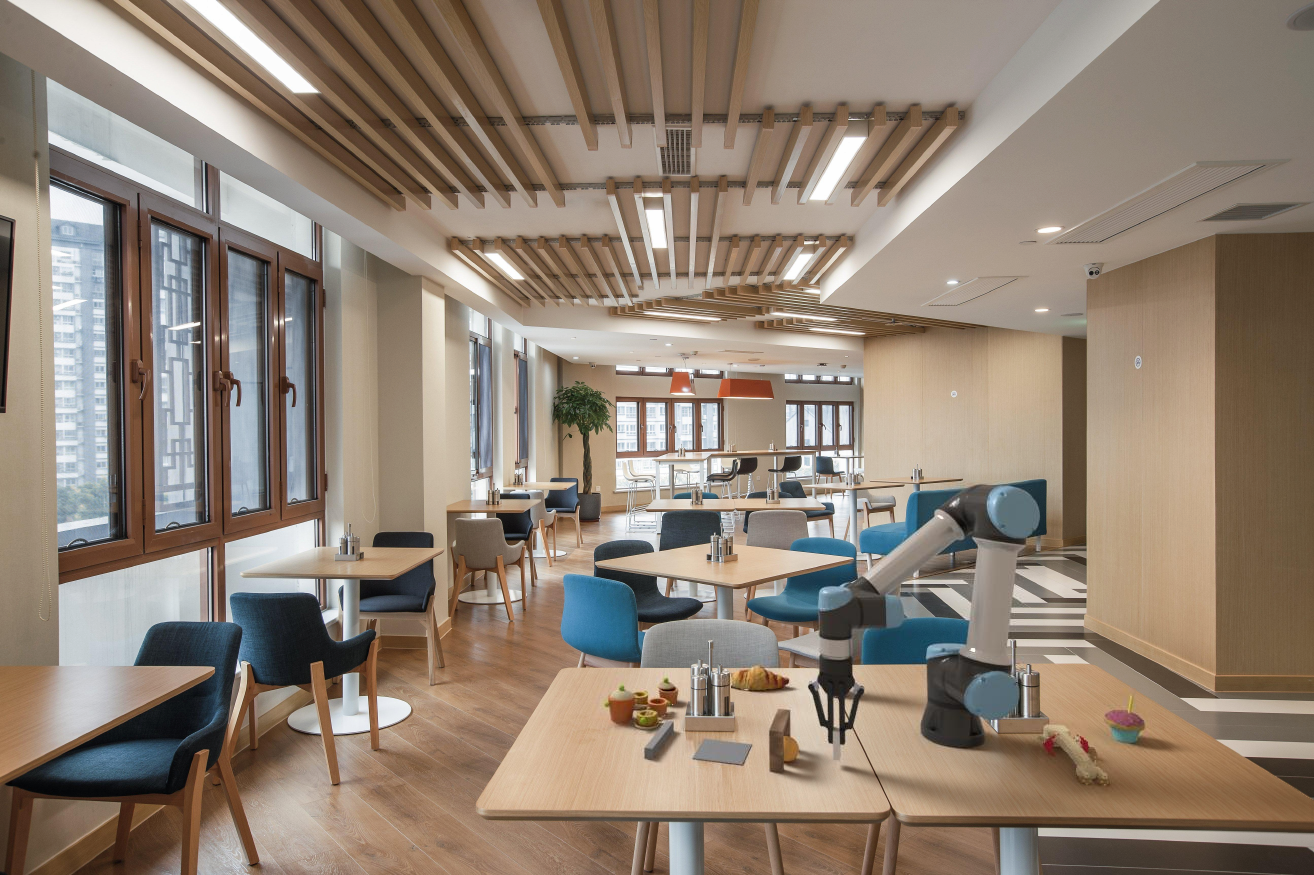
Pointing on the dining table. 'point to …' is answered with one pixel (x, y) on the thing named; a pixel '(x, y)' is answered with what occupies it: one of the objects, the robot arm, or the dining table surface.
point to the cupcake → (1125, 724)
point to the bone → (1074, 752)
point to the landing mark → (722, 751)
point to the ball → (790, 749)
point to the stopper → (658, 740)
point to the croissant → (758, 679)
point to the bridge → (778, 740)
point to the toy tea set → (641, 705)
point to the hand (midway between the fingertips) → (836, 757)
